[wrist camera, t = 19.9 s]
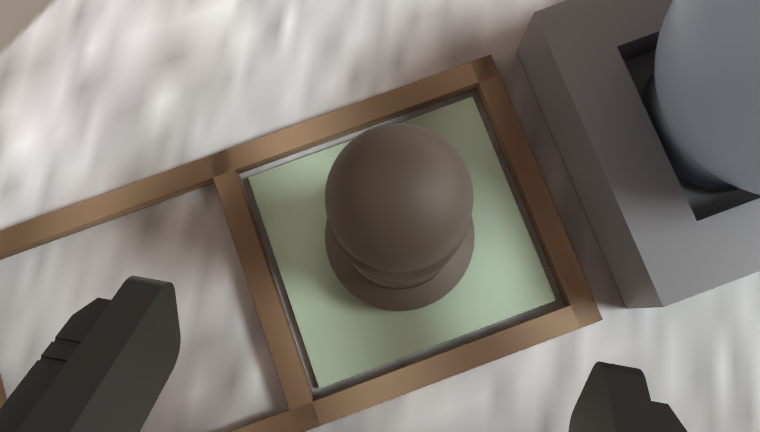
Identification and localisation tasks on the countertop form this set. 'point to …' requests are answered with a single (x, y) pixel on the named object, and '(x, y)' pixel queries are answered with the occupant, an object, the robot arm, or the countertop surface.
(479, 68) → the window frame
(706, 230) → the housing
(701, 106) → the pale blue sphere
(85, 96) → the countertop surface
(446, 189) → the pawn
